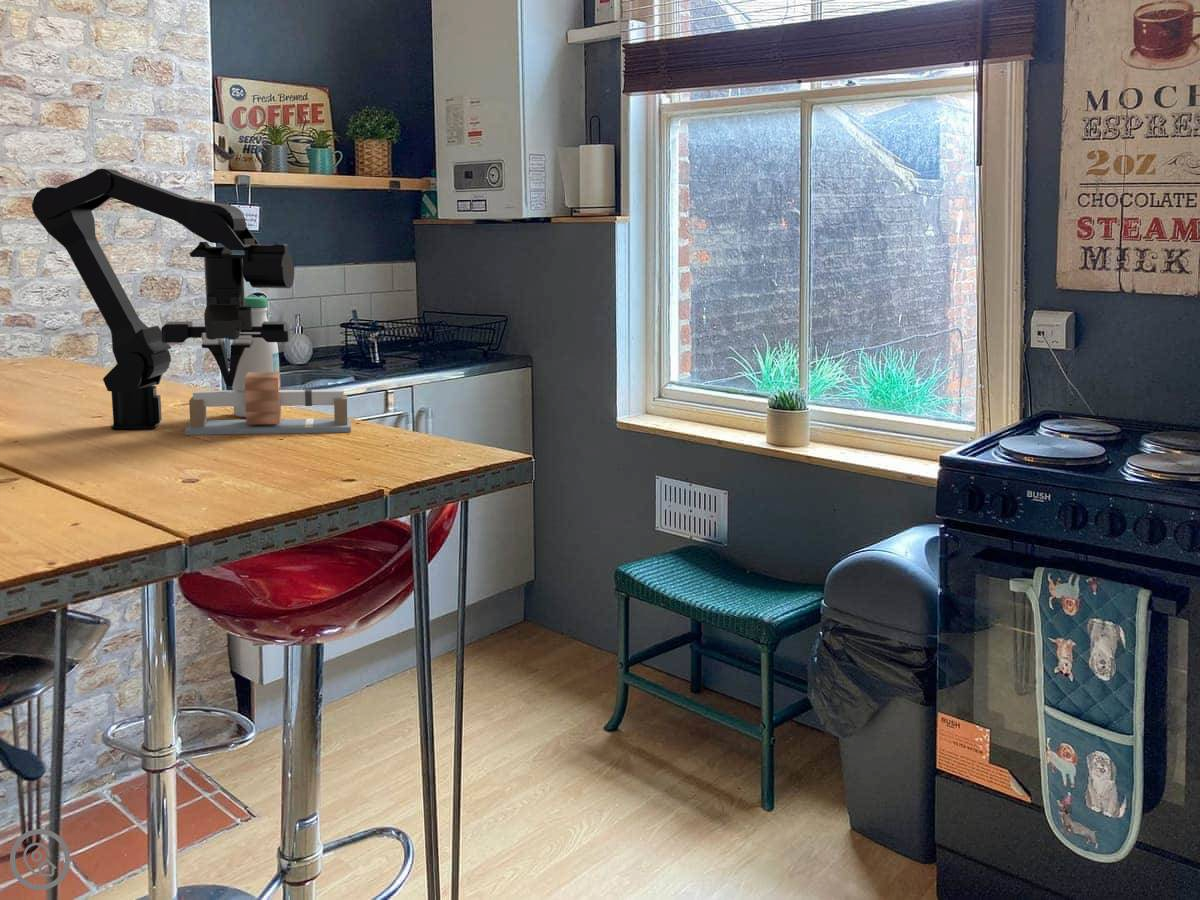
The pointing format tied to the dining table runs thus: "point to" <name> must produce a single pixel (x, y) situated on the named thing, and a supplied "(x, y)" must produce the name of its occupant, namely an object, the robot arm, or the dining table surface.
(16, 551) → the dining table surface
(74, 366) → the dining table surface
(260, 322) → the milk bottle
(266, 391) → the collar
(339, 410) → the rail
